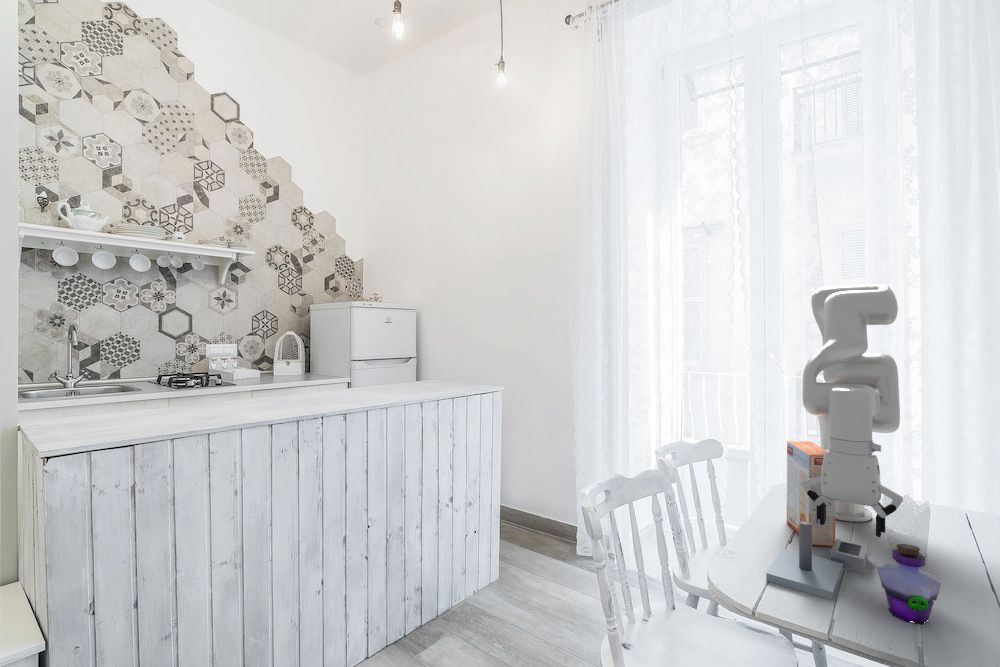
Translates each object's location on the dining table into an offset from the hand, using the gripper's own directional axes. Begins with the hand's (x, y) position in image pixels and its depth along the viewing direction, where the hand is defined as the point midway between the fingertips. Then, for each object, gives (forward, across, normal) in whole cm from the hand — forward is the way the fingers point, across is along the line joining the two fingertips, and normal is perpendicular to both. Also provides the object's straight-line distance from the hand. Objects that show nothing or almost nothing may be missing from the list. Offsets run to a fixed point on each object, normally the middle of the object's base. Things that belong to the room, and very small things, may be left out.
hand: (849, 529), depth 105 cm
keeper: (+8, +6, +11) cm, 15 cm away
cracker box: (+7, +9, -12) cm, 17 cm away
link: (+7, 0, -1) cm, 7 cm away
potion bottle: (+8, -10, +15) cm, 20 cm away
